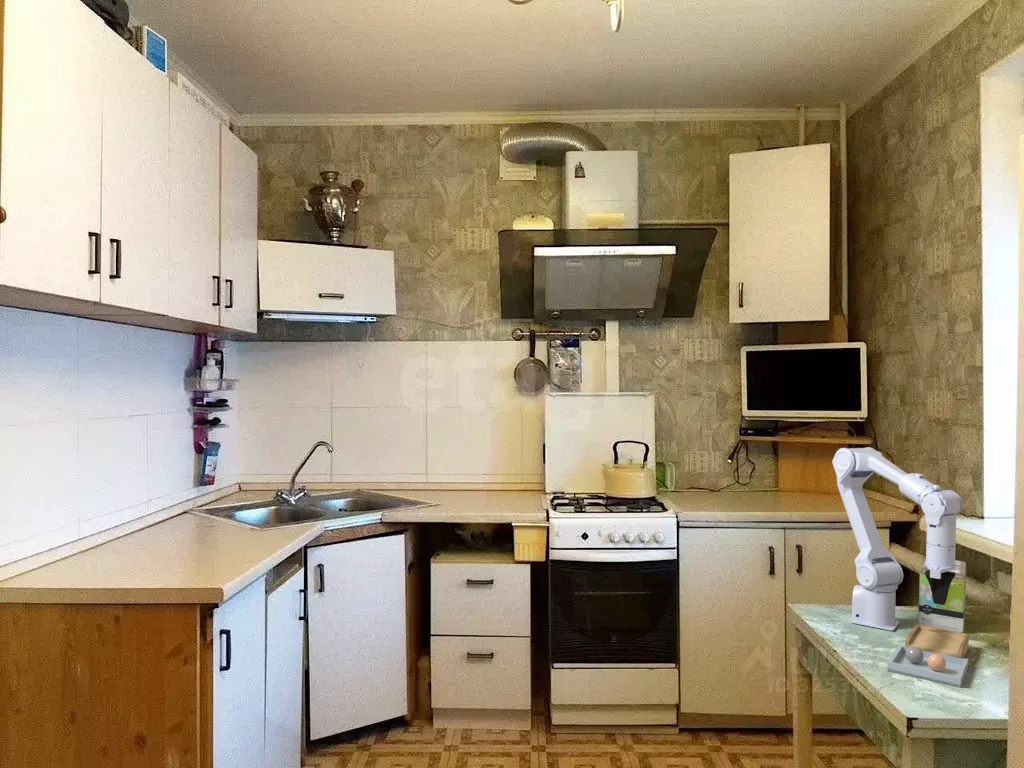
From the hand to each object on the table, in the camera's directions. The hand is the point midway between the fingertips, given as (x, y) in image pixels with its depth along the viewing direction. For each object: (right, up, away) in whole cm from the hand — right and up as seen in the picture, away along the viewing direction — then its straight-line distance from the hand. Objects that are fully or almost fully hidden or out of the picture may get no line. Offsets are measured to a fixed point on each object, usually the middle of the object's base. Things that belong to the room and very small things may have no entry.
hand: (939, 603), depth 166 cm
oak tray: (-2, -10, -3) cm, 10 cm away
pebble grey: (-12, -8, -11) cm, 18 cm away
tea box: (+11, -10, +18) cm, 24 cm away
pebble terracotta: (-10, -8, -15) cm, 20 cm away
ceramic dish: (-10, -10, -13) cm, 19 cm away
